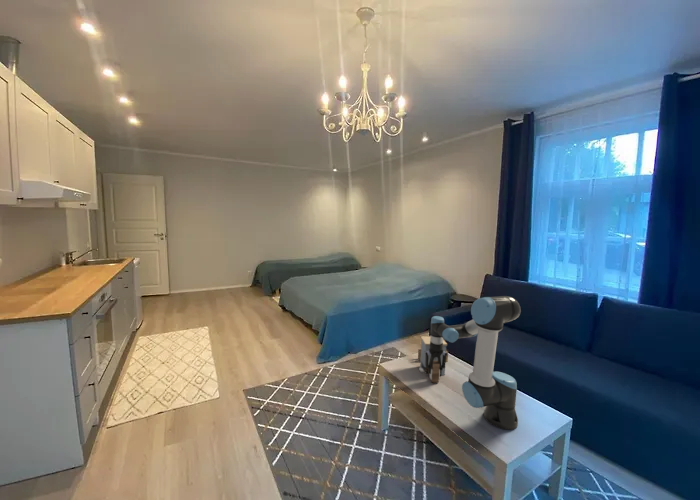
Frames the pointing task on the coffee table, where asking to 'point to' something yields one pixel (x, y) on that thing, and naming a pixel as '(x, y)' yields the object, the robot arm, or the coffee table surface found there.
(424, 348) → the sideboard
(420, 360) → the stand
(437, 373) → the wooden block
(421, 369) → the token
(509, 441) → the coffee table surface
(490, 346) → the robot arm
